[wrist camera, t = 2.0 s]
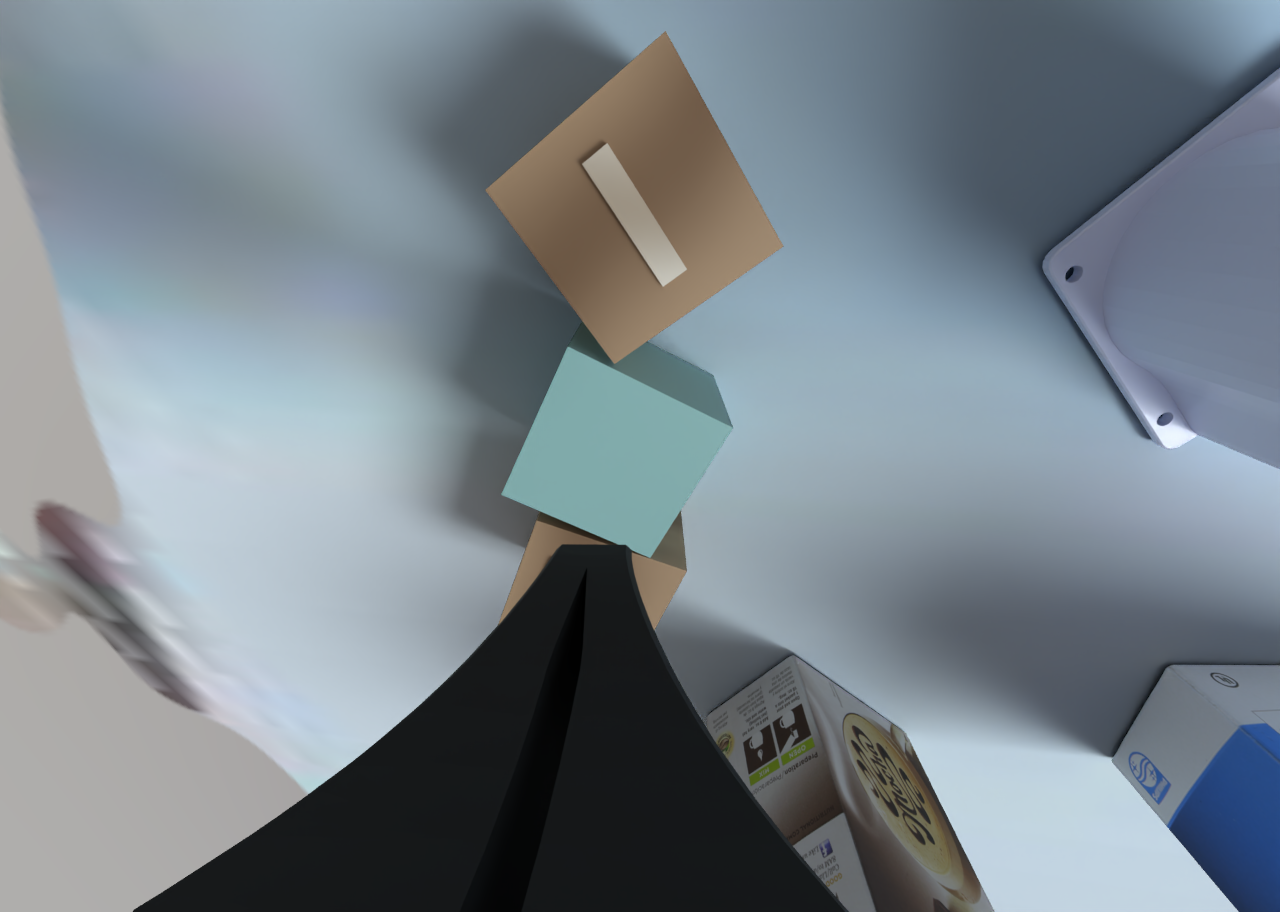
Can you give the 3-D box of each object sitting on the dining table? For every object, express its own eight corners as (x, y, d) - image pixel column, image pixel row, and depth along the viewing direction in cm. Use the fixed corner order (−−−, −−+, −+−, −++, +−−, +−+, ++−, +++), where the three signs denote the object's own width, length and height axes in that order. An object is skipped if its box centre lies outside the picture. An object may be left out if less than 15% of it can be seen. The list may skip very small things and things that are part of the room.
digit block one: (748, 235, 17) (784, 246, 12) (623, 324, 18) (613, 365, 14) (661, 83, 15) (665, 28, 10) (530, 194, 16) (483, 189, 12)
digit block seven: (678, 492, 21) (687, 574, 16) (633, 582, 23) (629, 677, 18) (561, 450, 20) (535, 523, 16) (525, 547, 22) (493, 637, 18)
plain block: (713, 374, 19) (733, 427, 14) (649, 481, 21) (650, 558, 16) (588, 311, 18) (567, 346, 13) (534, 429, 20) (501, 494, 15)
